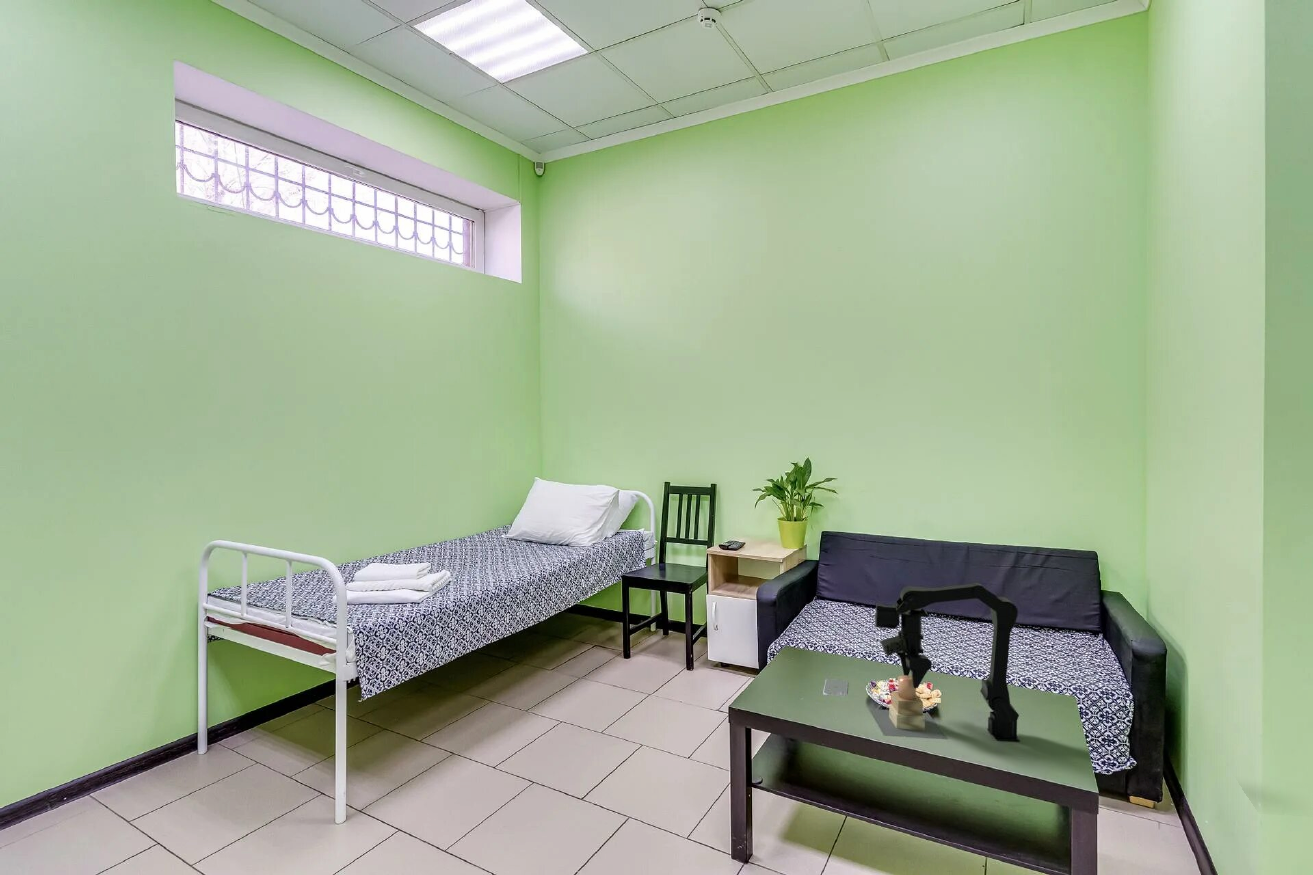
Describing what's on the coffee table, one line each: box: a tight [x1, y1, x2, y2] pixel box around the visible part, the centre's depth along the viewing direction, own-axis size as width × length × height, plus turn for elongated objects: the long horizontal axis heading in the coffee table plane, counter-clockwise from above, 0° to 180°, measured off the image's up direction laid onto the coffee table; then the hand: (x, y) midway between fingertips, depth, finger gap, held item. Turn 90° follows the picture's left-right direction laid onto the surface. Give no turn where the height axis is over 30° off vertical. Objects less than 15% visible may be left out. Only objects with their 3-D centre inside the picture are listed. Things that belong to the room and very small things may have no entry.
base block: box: [888, 703, 925, 730], centre depth 188 cm, size 8×8×4 cm
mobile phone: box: [822, 678, 849, 697], centre depth 215 cm, size 8×1×15 cm
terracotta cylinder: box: [897, 674, 917, 700], centre depth 188 cm, size 5×5×6 cm
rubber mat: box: [868, 708, 949, 740], centre depth 188 cm, size 18×18×1 cm
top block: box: [891, 691, 924, 716], centre depth 188 cm, size 7×7×4 cm
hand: (910, 681), depth 188 cm, fingers open, 9 cm apart
